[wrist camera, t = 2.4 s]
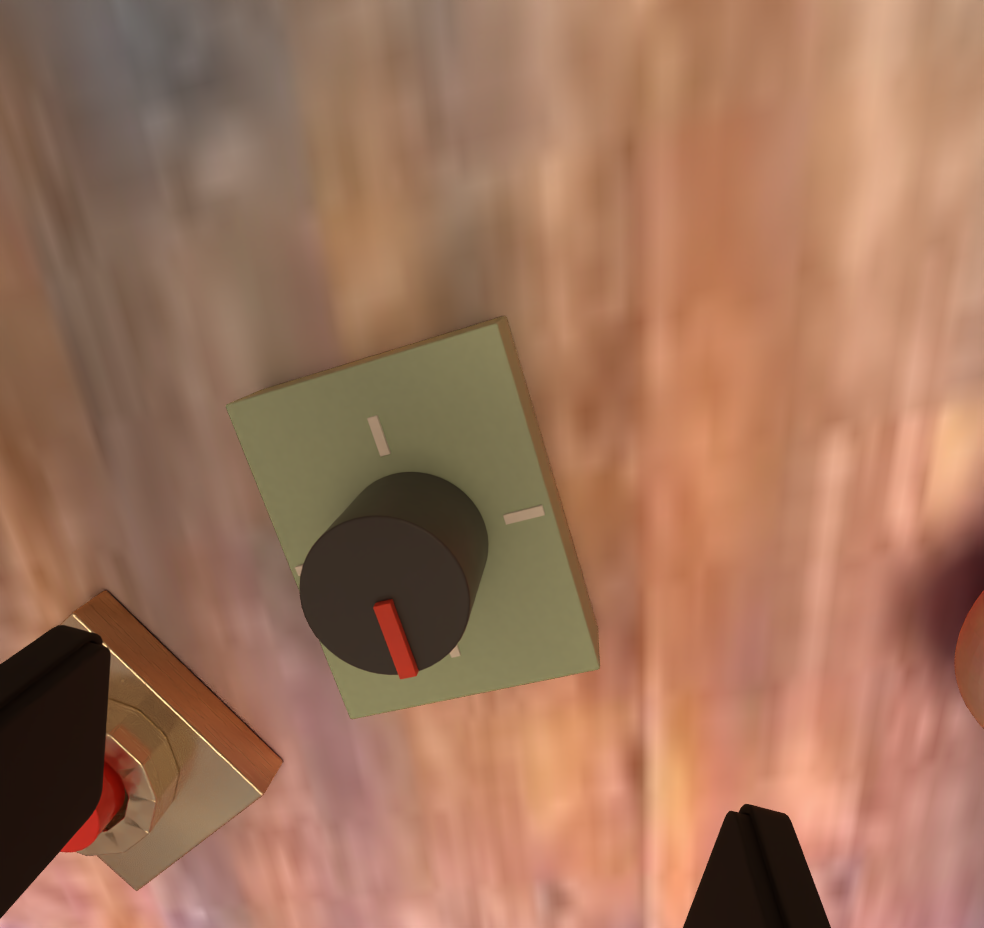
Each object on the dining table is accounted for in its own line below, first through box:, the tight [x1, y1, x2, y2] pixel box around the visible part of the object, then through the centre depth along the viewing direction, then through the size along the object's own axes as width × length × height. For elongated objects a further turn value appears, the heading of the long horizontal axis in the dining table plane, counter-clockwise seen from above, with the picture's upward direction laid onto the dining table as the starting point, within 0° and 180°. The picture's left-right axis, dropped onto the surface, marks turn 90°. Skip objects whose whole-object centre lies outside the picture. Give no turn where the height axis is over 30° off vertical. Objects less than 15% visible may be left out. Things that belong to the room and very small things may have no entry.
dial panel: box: [226, 316, 600, 719], centre depth 27 cm, size 13×10×3 cm
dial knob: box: [299, 472, 489, 679], centre depth 23 cm, size 5×5×5 cm
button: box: [60, 761, 125, 852], centre depth 29 cm, size 4×4×2 cm
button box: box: [60, 590, 283, 891], centre depth 31 cm, size 11×9×4 cm
